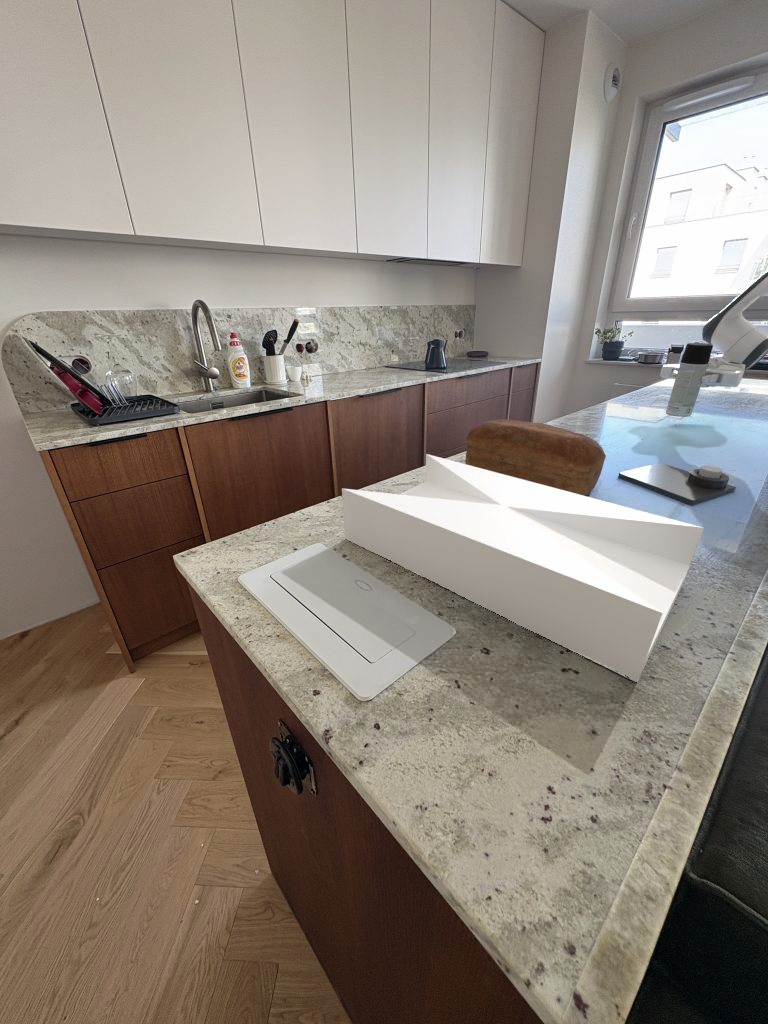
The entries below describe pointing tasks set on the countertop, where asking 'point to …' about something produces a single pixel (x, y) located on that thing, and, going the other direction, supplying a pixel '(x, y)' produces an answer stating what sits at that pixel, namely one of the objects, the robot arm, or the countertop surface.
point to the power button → (710, 472)
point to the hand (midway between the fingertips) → (688, 377)
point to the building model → (535, 556)
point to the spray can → (689, 379)
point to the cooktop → (678, 483)
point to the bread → (536, 454)
